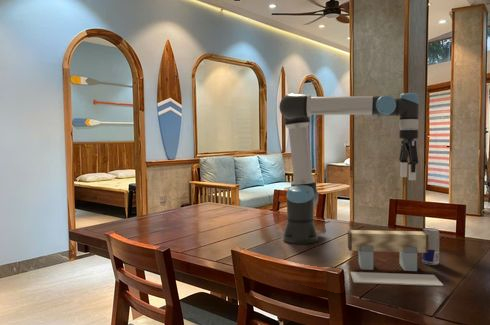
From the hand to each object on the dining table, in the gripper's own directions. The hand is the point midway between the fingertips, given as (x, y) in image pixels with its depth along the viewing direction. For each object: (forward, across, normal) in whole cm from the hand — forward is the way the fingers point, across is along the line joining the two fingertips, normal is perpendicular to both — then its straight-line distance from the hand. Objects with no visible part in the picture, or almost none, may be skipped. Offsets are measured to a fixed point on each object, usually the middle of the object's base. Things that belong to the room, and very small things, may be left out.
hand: (407, 178), depth 176 cm
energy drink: (+27, -35, +1) cm, 44 cm away
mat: (+26, -53, +18) cm, 62 cm away
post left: (+27, -40, +24) cm, 54 cm away
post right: (+26, -41, +10) cm, 50 cm away
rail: (+21, -40, +17) cm, 48 cm away
